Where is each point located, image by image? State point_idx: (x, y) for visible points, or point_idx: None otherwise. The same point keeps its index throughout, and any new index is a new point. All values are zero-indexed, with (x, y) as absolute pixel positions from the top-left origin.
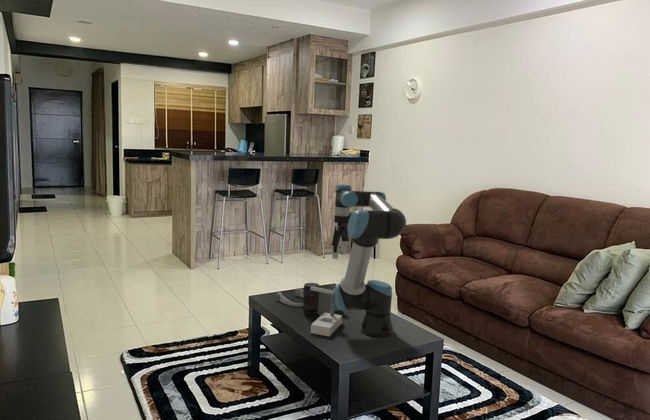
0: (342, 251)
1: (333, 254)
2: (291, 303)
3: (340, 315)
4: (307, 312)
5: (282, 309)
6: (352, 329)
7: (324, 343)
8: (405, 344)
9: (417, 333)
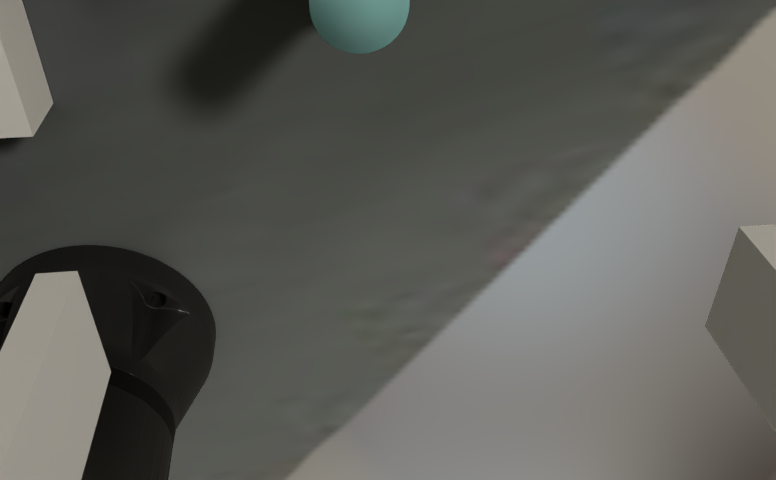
0: (750, 298)
1: (7, 375)
2: None
3: (23, 124)
4: None
5: None
6: (5, 207)
7: None
8: None
9: (227, 476)
